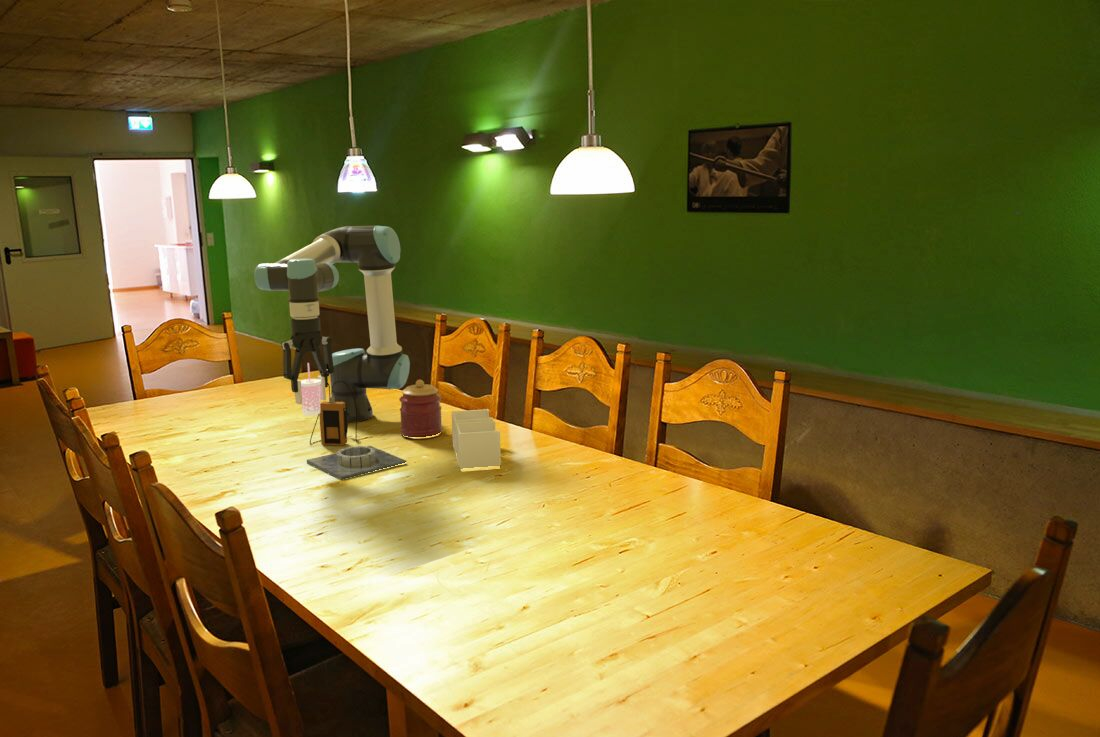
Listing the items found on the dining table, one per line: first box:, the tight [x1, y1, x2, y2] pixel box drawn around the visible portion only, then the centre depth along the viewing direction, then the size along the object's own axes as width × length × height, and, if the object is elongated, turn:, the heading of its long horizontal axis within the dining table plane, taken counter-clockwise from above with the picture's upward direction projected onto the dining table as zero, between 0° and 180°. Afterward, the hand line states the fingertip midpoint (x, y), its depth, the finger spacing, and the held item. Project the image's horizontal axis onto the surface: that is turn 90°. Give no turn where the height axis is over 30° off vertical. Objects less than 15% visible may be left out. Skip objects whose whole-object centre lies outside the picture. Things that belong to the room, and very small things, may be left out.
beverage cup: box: [300, 362, 321, 416], centre depth 223 cm, size 6×6×14 cm
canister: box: [398, 379, 443, 437], centre depth 258 cm, size 13×13×18 cm
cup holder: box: [306, 445, 407, 481], centre depth 230 cm, size 20×20×4 cm
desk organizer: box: [451, 408, 502, 470], centre depth 234 cm, size 25×11×11 cm, turn 11°
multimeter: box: [309, 381, 360, 447], centre depth 250 cm, size 15×10×20 cm
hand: (310, 401), depth 224 cm, fingers closed on beverage cup, 6 cm apart
